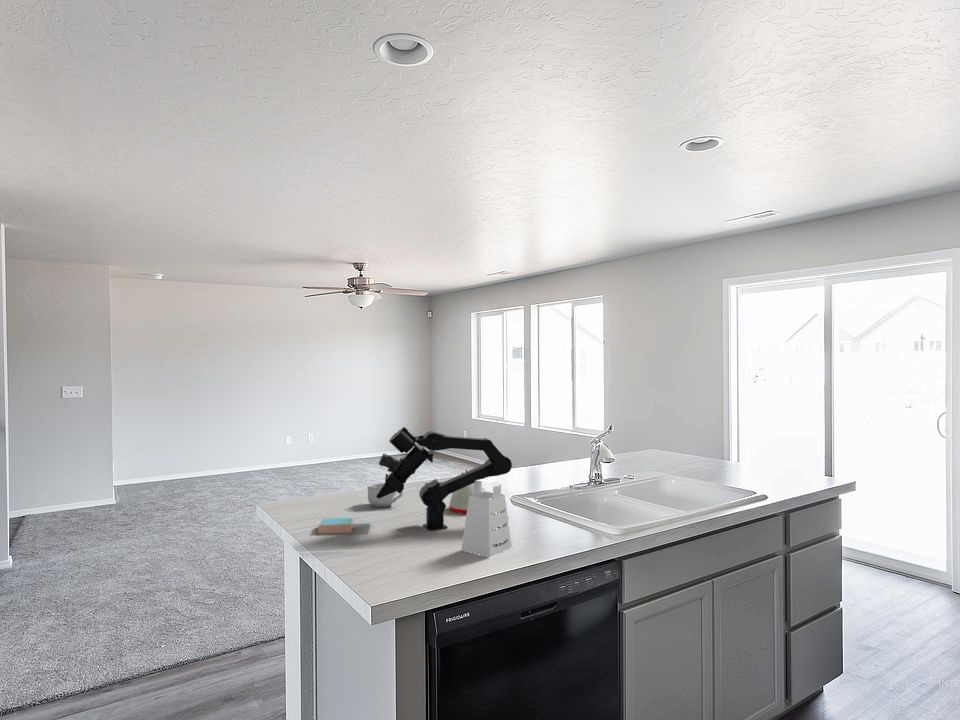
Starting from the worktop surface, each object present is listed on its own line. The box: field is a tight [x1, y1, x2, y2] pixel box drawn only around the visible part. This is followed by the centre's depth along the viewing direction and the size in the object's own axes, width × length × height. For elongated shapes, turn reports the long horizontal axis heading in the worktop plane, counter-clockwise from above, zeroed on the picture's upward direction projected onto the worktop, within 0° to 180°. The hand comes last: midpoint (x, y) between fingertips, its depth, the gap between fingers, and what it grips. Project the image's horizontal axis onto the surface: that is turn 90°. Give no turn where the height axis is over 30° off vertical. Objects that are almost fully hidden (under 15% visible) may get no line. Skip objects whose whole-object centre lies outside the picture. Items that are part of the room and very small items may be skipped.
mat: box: [315, 522, 371, 537], centre depth 183 cm, size 16×12×1 cm
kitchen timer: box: [449, 468, 485, 515], centre depth 211 cm, size 14×14×15 cm
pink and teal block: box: [317, 517, 354, 534], centre depth 183 cm, size 3×8×10 cm
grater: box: [460, 478, 513, 558], centre depth 166 cm, size 10×10×20 cm
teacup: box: [367, 482, 404, 508], centre depth 215 cm, size 14×11×8 cm
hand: (377, 497), depth 184 cm, fingers closed
